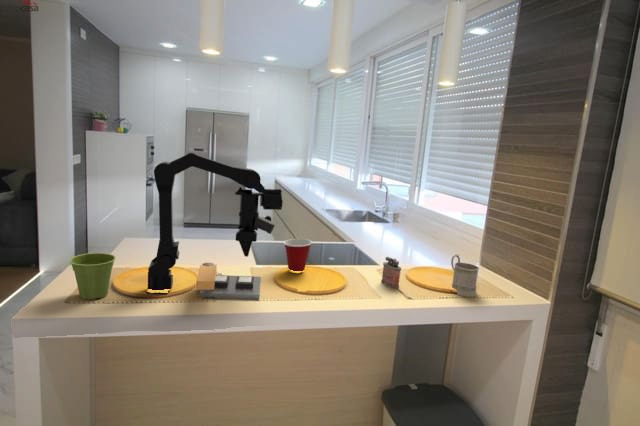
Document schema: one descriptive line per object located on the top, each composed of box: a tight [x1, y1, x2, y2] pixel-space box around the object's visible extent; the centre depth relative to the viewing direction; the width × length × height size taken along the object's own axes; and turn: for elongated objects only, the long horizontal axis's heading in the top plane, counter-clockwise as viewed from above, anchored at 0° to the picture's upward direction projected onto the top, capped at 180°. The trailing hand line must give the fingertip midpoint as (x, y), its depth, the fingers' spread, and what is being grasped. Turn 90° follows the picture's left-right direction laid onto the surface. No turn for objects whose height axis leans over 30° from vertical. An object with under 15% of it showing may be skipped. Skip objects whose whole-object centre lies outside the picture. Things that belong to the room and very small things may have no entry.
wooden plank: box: [195, 262, 217, 291], centre depth 128 cm, size 18×5×2 cm, turn 12°
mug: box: [450, 253, 480, 298], centre depth 153 cm, size 14×10×12 cm
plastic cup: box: [283, 238, 313, 271], centre depth 158 cm, size 11×11×12 cm
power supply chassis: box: [199, 274, 262, 300], centre depth 136 cm, size 18×17×5 cm
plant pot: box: [68, 252, 117, 301], centre depth 121 cm, size 12×12×11 cm
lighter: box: [380, 256, 402, 290], centre depth 152 cm, size 8×3×10 cm, turn 34°
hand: (246, 256), depth 135 cm, fingers closed
